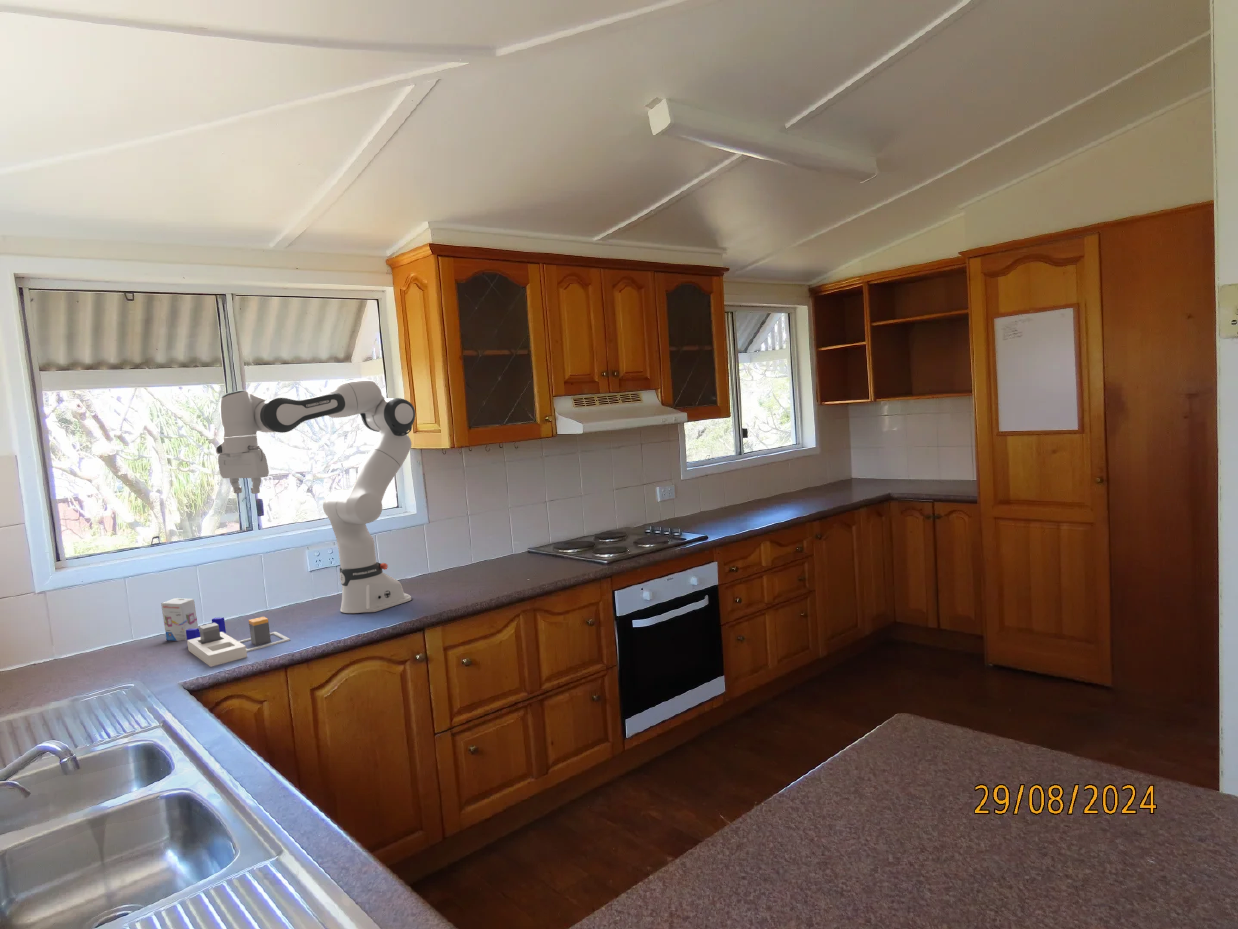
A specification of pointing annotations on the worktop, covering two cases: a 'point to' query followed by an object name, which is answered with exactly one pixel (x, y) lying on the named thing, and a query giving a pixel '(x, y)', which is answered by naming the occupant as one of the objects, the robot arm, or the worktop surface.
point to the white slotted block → (217, 650)
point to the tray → (269, 643)
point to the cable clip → (195, 632)
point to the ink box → (179, 618)
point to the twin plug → (209, 633)
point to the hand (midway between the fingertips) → (246, 493)
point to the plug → (259, 631)
